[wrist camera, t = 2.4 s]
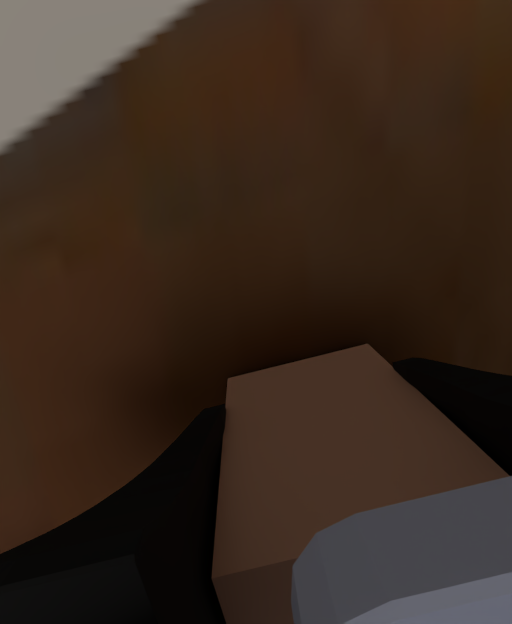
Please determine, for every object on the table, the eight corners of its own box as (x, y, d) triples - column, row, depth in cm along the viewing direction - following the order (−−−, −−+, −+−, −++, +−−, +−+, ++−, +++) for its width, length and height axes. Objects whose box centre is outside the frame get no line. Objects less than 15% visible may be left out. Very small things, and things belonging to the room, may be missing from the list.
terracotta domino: (227, 378, 14) (210, 578, 6) (367, 343, 14) (536, 500, 6) (239, 419, 14) (237, 657, 6) (375, 385, 14) (544, 585, 6)
